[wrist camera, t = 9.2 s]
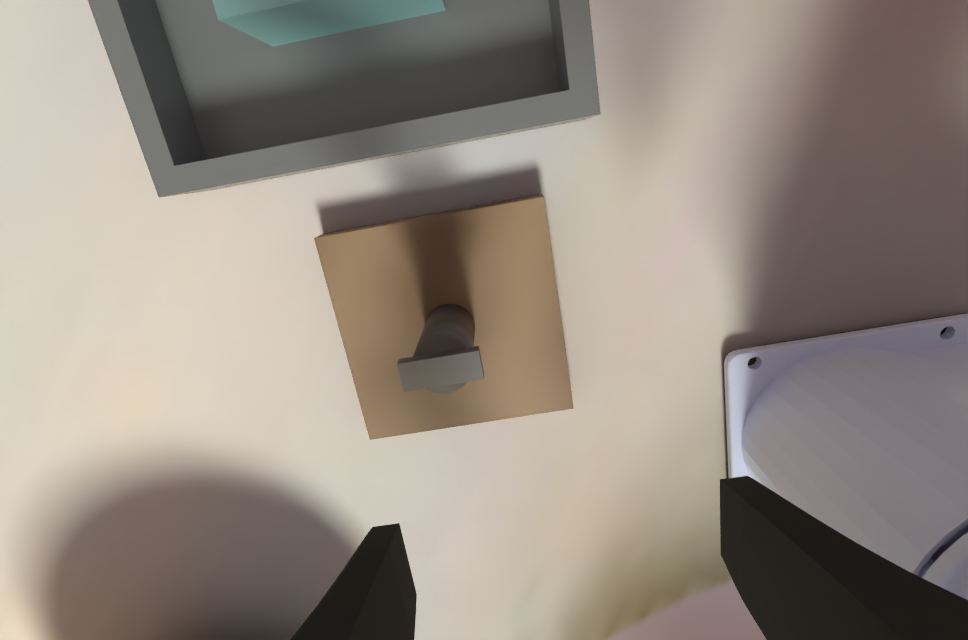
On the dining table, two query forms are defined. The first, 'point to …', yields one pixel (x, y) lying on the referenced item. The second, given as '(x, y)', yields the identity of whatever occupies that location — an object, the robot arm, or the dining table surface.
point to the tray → (339, 86)
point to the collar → (315, 16)
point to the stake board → (451, 271)
